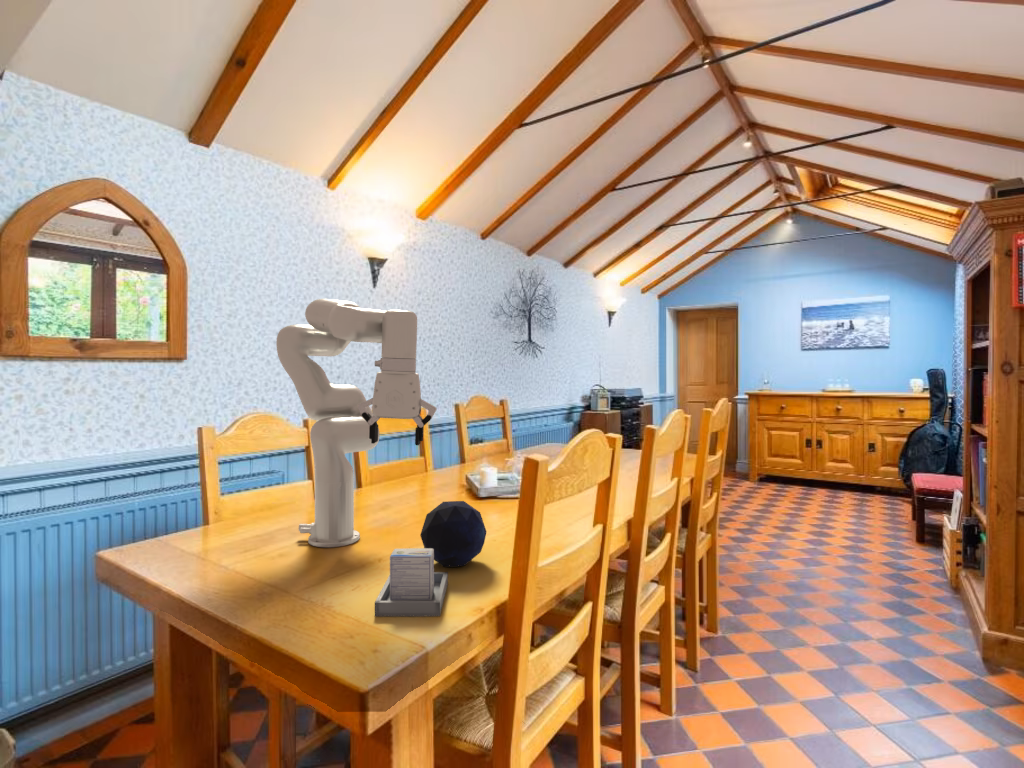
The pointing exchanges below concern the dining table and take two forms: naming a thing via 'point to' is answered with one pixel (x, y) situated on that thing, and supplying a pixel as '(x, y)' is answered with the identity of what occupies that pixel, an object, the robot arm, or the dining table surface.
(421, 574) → the medicine box
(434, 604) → the tray
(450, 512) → the decorative orb
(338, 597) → the dining table surface
